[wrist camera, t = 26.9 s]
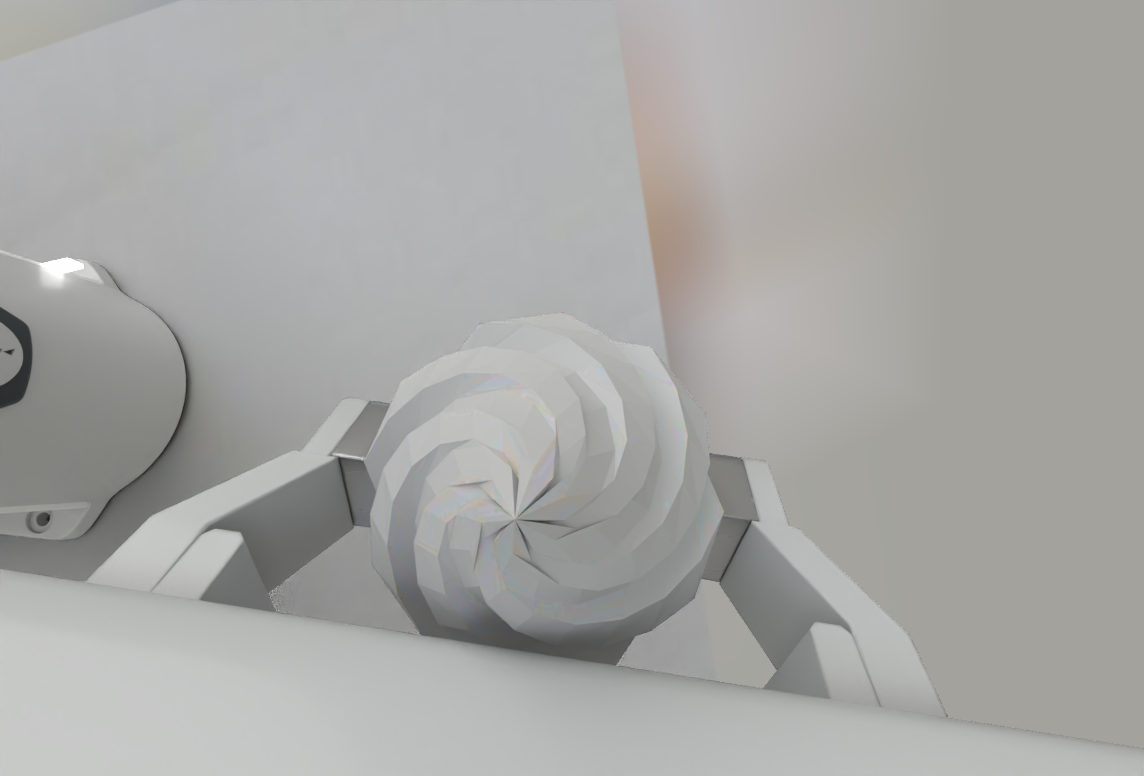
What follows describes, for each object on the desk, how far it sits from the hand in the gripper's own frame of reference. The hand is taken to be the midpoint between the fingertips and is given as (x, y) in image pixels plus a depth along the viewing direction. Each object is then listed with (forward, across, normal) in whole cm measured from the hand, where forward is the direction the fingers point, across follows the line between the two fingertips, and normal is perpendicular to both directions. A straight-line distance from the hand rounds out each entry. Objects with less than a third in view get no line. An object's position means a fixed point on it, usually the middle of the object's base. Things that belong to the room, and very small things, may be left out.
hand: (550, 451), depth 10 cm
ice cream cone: (+6, 0, +6) cm, 8 cm away
